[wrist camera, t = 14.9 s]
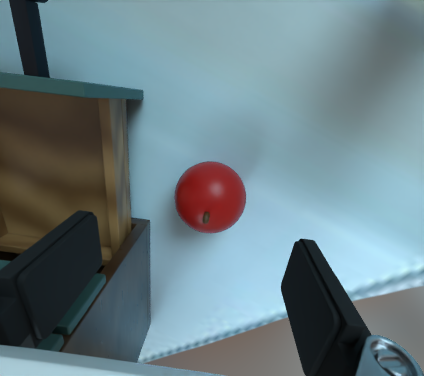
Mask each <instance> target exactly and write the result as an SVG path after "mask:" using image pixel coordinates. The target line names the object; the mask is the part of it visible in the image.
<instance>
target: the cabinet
mask: <svg viewBox="0 0 424 376" xmlns="http://www.w3.org/2000/svg"><path fill="white" fill-rule="evenodd" d="M131 229H132V231H131V233H130V234H129V235H128V237H127V238H126V239H125V241H124V242H123V243H122V245H121V246H120V247H119V249H118V250H117V251H116V253H115V254H114V255H113V257H112V258H111V259H110V261H109V262H108V263H107V265H106V266H103V265H101V267H100V268H99V270H98V271H97V272H96V274H95V275H94V276H93V278H92V279H91V280H90V282H89V283H88V284H87V286H86V287H85V288H84V290H83V291H82V293H81V294H80V295H79V297H78V298H77V299H76V301H75V302H74V303H73V305H72V306H71V307H70V309H69V310H68V311H67V313H66V314H65V315H64V317H63V318H62V319H61V321H60V322H59V323H58V325H57V326H56V328H55V329H54V330H53V332H52V333H51V334H50V335H49V337H47V338H46V339H43V340H42V341H41V343H40V344H39V345H38V346H37V348H36V349H40V350H47V351H55V352H62V353H69V354H77V355H84V356H91V357H99V358H106V359H113V360H121V361H128V362H135V363H137V360H138V357H139V355H140V352H141V349H142V346H143V343H144V340H145V338H146V335H147V332H148V329H149V326H150V220H145V219H137V218H131ZM19 255H20V254H18V253H11V252H4V251H0V270H1V269H2V268H3V267H4V266H6V265H7V264H8V263H10V262H11V261H12V260H14V259H15V258H16V257H18V256H19ZM19 347H21V345H20V346H19ZM23 348H26V347H23ZM32 349H33V348H32Z"/></svg>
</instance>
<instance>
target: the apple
mask: <svg viewBox="0 0 424 376" xmlns="http://www.w3.org/2000/svg"><path fill="white" fill-rule="evenodd" d="M174 200H175V206H176V210H177V212H178V214H179V216H180V217H181V219H182V220H183V221H184V222H185V223H186V224H187V225H188V226H189V227H191V228H192V229H194V230H196V231H199V232H203V233H217V232H221V231H224V230H226V229H228V228H230V227H231V226H232V225H234V224H235V223H236V222H237V221H238V219H239V218H240V216H241V215H242V213H243V210H244V207H245V203H246V192H245V187H244V185H243V182H242V180H241V178H240V177H239V176H238V174H237V173H236V172H235V171H234V170H233V169H231V168H230V167H228V166H226V165H224V164H222V163H218V162H202V163H199V164H196V165H194V166H192V167H190V168H189V169H188V170H187V171H186V172H185V173H184V174H183V175H182V176H181V177H180V179H179V181H178V183H177V185H176V189H175V195H174Z"/></svg>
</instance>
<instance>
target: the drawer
mask: <svg viewBox="0 0 424 376" xmlns="http://www.w3.org/2000/svg"><path fill="white" fill-rule="evenodd" d="M47 1H48V0H9V2H10V7H11V12H12V17H13V21H14V26H15V31H16V36H17V41H18V46H19V51H20V56H21V61H22V66H23V71H24V75H20V74H11V73H3V72H0V251H4V252H11V253H18V254H21V253H23V252H24V251H25V250H27V249H28V248H29V247H31V246H32V245H33V244H35V243H36V242H37V241H38V240H40V239H41V238H42V237H44V236H45V235H46V234H48V233H49V232H50V231H52V230H53V229H54V228H55V227H57V226H58V225H59V224H61V223H62V222H63V221H65V220H66V219H67V218H69V217H70V216H71V215H73V214H74V213H75V212H76V211H78V210H82V211H90V212H93V214H94V215H95V216H96V217H97V221H98V229H99V236H100V244H101V252H102V265H103V266H106V265H107V263H108V262H109V261H110V259H111V258H112V257H113V255H114V254H115V253H116V251H117V250H118V249H119V247H120V246H121V245H122V243H123V242H124V241H125V239H126V238H127V237H128V235H129V234H130V233H131V231H132V229H131V205H130V182H129V159H128V135H127V112H126V99H141V100H143V90H138V89H130V88H123V87H116V86H109V85H102V84H94V83H87V82H80V81H71V80H62V79H54V78H50V76H49V70H48V64H47V58H46V51H45V45H44V39H43V33H42V27H41V21H40V15H39V9H38V4H37V3H36V2H40V3H46V2H47Z"/></svg>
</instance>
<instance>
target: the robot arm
mask: <svg viewBox="0 0 424 376" xmlns="http://www.w3.org/2000/svg"><path fill="white" fill-rule="evenodd" d="M101 265H102V252H101V244H100V236H99V229H98V221H97V217H96V216H95V215H94V214H93V212H90V211H82V210H78V211H76V212H75V213H74V214H73V215H71V216H70V217H69V218H67V219H66V220H65V221H63V222H62V223H61V224H59V225H58V226H57V227H55V228H54V229H53V230H52V231H50V232H49V233H48V234H46V235H45V236H44V237H42V238H41V239H40V240H38V241H37V242H36V243H35V244H33V245H32V246H31V247H29V248H28V249H27V250H25V251H24V252H23V253H21V254H20V255H19V256H18V257H16V258H15V259H14V260H12V261H11V262H10V263H8V264H7V265H6V266H4V267H3V268H2V269H1V270H0V376H225V375H218V374H211V373H205V372H198V371H191V370H184V369H177V368H170V367H162V366H156V365H149V364H142V363H135V362H128V361H121V360H113V359H106V358H99V357H91V356H84V355H77V354H69V353H62V352H55V351H47V350H40V349H36V348H37V346H38V345H39V344H40V343H41V341H42V340H43V339H46V338H47V337H49V335H50V334H51V333H52V332H53V330H54V329H55V328H56V326H57V325H58V323H59V322H60V321H61V319H62V318H63V317H64V315H65V314H66V313H67V311H68V310H69V309H70V307H71V306H72V305H73V303H74V302H75V301H76V299H77V298H78V297H79V295H80V294H81V293H82V291H83V290H84V288H85V287H86V286H87V284H88V283H89V282H90V280H91V279H92V278H93V276H94V275H95V274H96V272H97V271H98V270H99V268H100V267H101ZM281 292H282V295H283V299H284V303H285V306H286V310H287V314H288V317H289V321H290V325H291V328H292V332H293V335H294V339H295V343H296V346H297V350H298V353H299V357H300V361H301V364H302V368H303V371H304V374H305V375H306V376H424V374H423V372H422V370H421V368H420V366H419V365H418V363H417V362H416V361H415V359H414V358H413V357H412V356H411V355H410V354H409V353H408V352H407V351H406V350H405V349H404V348H402V347H401V346H400V345H398V344H397V343H396V342H394V341H392V340H390V339H388V338H386V337H383V336H379V335H371V333H370V331H369V330H368V328H367V326H366V325H365V323H364V322H363V320H362V318H361V316H360V315H359V313H358V311H357V310H356V308H355V306H354V305H353V303H352V301H351V300H350V298H349V297H348V295H347V293H346V292H345V290H344V288H343V287H342V285H341V283H340V282H339V280H338V278H337V277H336V275H335V274H334V272H333V271H332V269H331V267H330V266H329V264H328V262H327V261H326V259H325V257H324V256H323V254H322V252H321V251H320V249H319V247H318V246H317V244H316V242H315V241H314V240H308V239H300V240H299V241H296V242H295V243H294V246H293V249H292V252H291V256H290V259H289V262H288V265H287V268H286V271H285V274H284V277H283V280H282V283H281ZM20 345H21V347H19V346H20ZM23 347H26V348H23ZM32 348H33V349H32Z"/></svg>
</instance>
